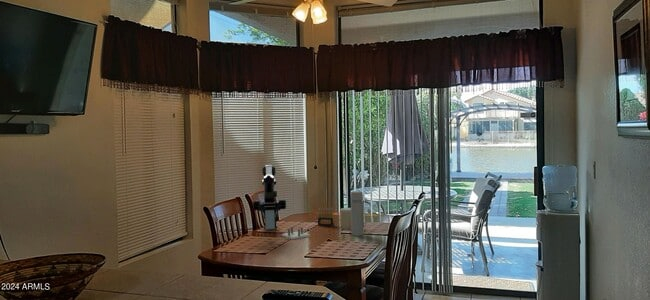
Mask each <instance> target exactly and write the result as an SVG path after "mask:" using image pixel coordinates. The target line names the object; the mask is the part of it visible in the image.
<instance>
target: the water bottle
mask: <svg viewBox="0 0 650 300" xmlns="http://www.w3.org/2000/svg"><path fill="white" fill-rule="evenodd" d="M350 208H351V229H350V230H351V232H350V233H351V235H352V236H354V237H362V236H363V235H364V233H365V231H364V228H366V227H367V225H364V224H365V222H367V216H366V215H365V214H366V210H365V200H364V194H363V191H357V190H356V191H350Z"/></svg>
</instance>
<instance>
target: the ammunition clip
mask: <svg viewBox="0 0 650 300" xmlns="http://www.w3.org/2000/svg"><path fill="white" fill-rule="evenodd" d="M317 215H318V216H317V226H321V227H322V226H324V227H335V218H334V208H333V207H329V208H328V207H326V208H325V206H324V207H323V206H321V207H320V206H319V207H318V212H317Z"/></svg>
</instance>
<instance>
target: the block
mask: <svg viewBox="0 0 650 300" xmlns="http://www.w3.org/2000/svg"><path fill="white" fill-rule="evenodd" d="M265 218H266V228H265V230H273V229H274V230H275V229H276V228H275V219H274V210H265Z"/></svg>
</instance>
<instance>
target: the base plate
mask: <svg viewBox="0 0 650 300" xmlns="http://www.w3.org/2000/svg"><path fill="white" fill-rule="evenodd" d="M303 229H304V227H303V226H301V227H300V228H298V229H297V231H294V227H293V226H291V227H290V228H287V232H285V233H281V237H283V238H287V239H289V240H297V239H304V238H310V237H311V234H309V233H306V232H304V230H303Z"/></svg>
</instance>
